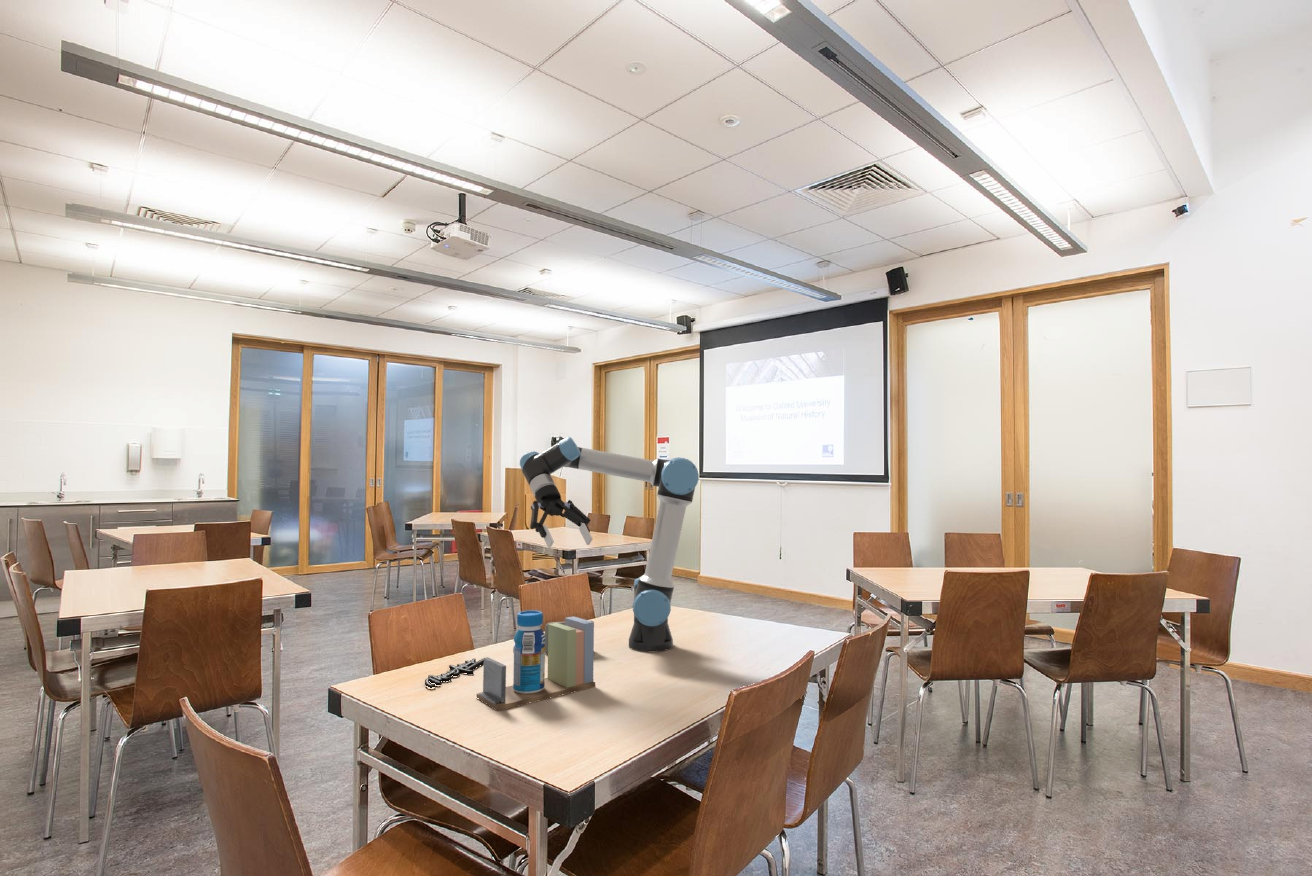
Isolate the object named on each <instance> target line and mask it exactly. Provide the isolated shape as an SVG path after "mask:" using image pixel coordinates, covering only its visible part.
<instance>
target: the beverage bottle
mask: <svg viewBox="0 0 1312 876" xmlns="http://www.w3.org/2000/svg"><path fill="white" fill-rule="evenodd" d="M543 620H544V614H543V612H542V611H539V610H524V611H519V612H517V614H516V624H517V627H518V629H517V630H516V633H514V634H515V635H514V638H513V642H514V645H513V649H512V652H513V684H512V686H513V690H514V691H515V692H517V693H520V694H533V693H537V692H540V691H542V690H543V689H544V687H545V682H544V678H546V676H545V674H546V673H545V672H546V671H545V670H546V669H545V667H546V653H545V651H546V647H545V644H544V641H545V631H543V629H542V627H541V626H543V623H544V621H543Z"/></svg>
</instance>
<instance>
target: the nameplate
mask: <svg viewBox="0 0 1312 876" xmlns="http://www.w3.org/2000/svg"><path fill="white" fill-rule="evenodd" d="M480 665H481V666H484V658H481V659H479V660H478V661H476V657H475V658H472V659H471V660H465V661H464V662H463V663H457V664H456V665H453V664H449V665H448V669H449V668H450V669H451V670H447V671H446V672H445V673H441V674H440V675H434V674H429V675H428V677H427V678H425V679H424V686H425V685H426V686H428V687H430V688H432V687H435V688H436V686H435V684H436V685H441V686H442V684H441V681H449V680H451V681H452V678H451V676H452V675H453V676H458V675H459V676H460V674H461V673H467V674H473V675H474V670H476V669H477V668H476V667H478V668H480V667H481V666H480ZM479 666H480V667H479ZM475 668H476V669H475ZM473 669H474V670H473ZM459 672H460V673H459ZM429 681H430V682H431V683H435V684H431V683H430V682H429Z"/></svg>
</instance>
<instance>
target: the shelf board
mask: <svg viewBox="0 0 1312 876" xmlns="http://www.w3.org/2000/svg"><path fill="white" fill-rule="evenodd" d="M544 682H545V687H544V689H543V690H542V691H540V692H537V693H533V694H520V693H517V692H515V691H514V690H513V685H510V686H506V697H505V703H502V704H500V703H499V704H494V703H492V702H490V701H488V700H487V699H485V698H483V697H482V696H480V695H479V693H482V692H483V691H482V692H477V693H476V697H477V698H479V699H480V700H482V701H483V702H485V703H487V704H488V705H490V706H491V707H490V706H489V707H490V708H492V707H493V708H492V709H494V708H495V709H496V710H495V709H494V710H495V711H497V710H500V711H504V710H507V709H506V708H508V709H511V707H512V708H516V707H519V706H518V705H520V706H524V705H528V704H530V703H529V702H532V703H536V702H539V701H538V700H540V701H544V700H548V699H551V698H550V697H552V698H556V697H560V696H559V695H561V696H563V695H562V694H565V695H568V693H569V694H572V693H571V692H573V693H575V692H574V691H577V692H580V691H584V690H588V689H589V690H590V689H592V688H595V687H596V682H595V681H593V682H589V683H585V684H580V685H576V686H572V687H568V688H566V687H564V686H562V685H560V684H558V683H555V682H553V681H551V680H549V679H548V677H544ZM477 698H476V699H477ZM547 698H548V699H547ZM480 700H479V701H480ZM482 701H481V702H482ZM535 701H536V702H535ZM483 702H482V703H483ZM485 703H484V704H485ZM527 703H528V704H527ZM487 704H486V705H487ZM515 706H516V707H515ZM503 709H504V710H503Z"/></svg>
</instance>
